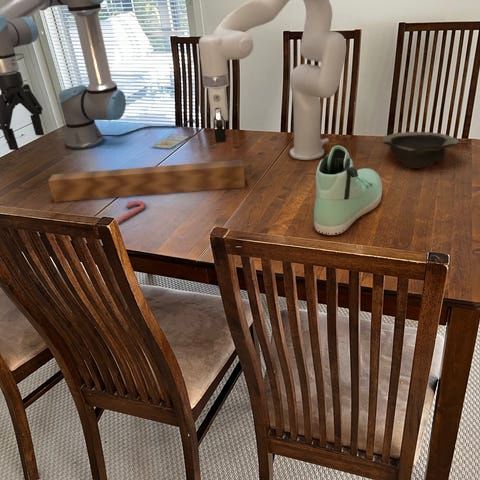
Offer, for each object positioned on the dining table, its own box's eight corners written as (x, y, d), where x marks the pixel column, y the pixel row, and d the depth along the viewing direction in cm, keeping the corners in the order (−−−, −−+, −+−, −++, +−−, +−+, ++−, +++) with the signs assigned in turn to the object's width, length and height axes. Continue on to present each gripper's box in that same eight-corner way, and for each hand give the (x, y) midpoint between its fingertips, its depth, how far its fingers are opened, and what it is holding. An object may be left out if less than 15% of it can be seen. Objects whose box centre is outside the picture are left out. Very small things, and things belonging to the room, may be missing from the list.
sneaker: (389, 187, 148) (396, 123, 138) (356, 242, 123) (361, 168, 112) (346, 181, 154) (350, 119, 144) (306, 232, 129) (307, 161, 118)
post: (54, 202, 157) (48, 180, 153) (58, 195, 161) (52, 174, 157) (245, 187, 156) (243, 165, 152) (244, 181, 160) (242, 159, 156)
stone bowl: (418, 179, 151) (419, 150, 147) (365, 160, 172) (365, 135, 167) (473, 159, 160) (476, 132, 156) (417, 144, 180) (418, 120, 176)
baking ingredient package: (151, 145, 194) (171, 134, 205) (151, 146, 194) (172, 135, 206) (169, 147, 190) (189, 136, 202) (170, 149, 191) (189, 137, 202)
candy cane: (99, 223, 142) (98, 218, 141) (136, 202, 152) (135, 198, 151) (113, 227, 139) (112, 223, 138) (149, 206, 149) (149, 202, 148)
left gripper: (-11, 82, 130) (13, 156, 141) (42, 63, 151) (59, 129, 161) (-34, 82, 132) (-9, 156, 143) (21, 64, 152) (40, 129, 163)
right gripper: (228, 86, 133) (233, 145, 142) (228, 73, 148) (232, 126, 157) (202, 88, 133) (208, 147, 142) (203, 74, 148) (209, 128, 157)
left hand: (27, 142), depth 152 cm, fingers open, 13 cm apart
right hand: (221, 136), depth 150 cm, fingers open, 9 cm apart
